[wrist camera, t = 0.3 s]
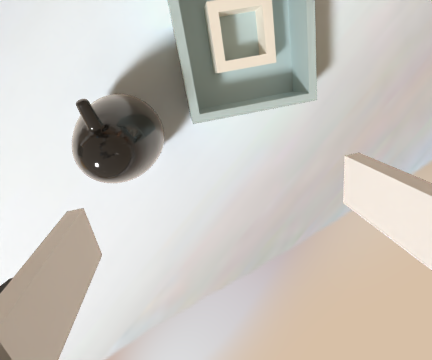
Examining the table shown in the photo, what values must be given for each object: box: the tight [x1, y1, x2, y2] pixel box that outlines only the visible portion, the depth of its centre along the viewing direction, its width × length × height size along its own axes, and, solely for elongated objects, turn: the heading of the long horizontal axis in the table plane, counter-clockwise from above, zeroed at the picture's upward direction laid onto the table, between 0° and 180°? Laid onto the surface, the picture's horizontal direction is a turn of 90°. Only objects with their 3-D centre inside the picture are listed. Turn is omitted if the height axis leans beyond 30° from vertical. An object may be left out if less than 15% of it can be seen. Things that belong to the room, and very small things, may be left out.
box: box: [167, 0, 317, 124], centre depth 32 cm, size 18×16×6 cm
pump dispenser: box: [72, 94, 164, 183], centre depth 30 cm, size 10×10×15 cm
